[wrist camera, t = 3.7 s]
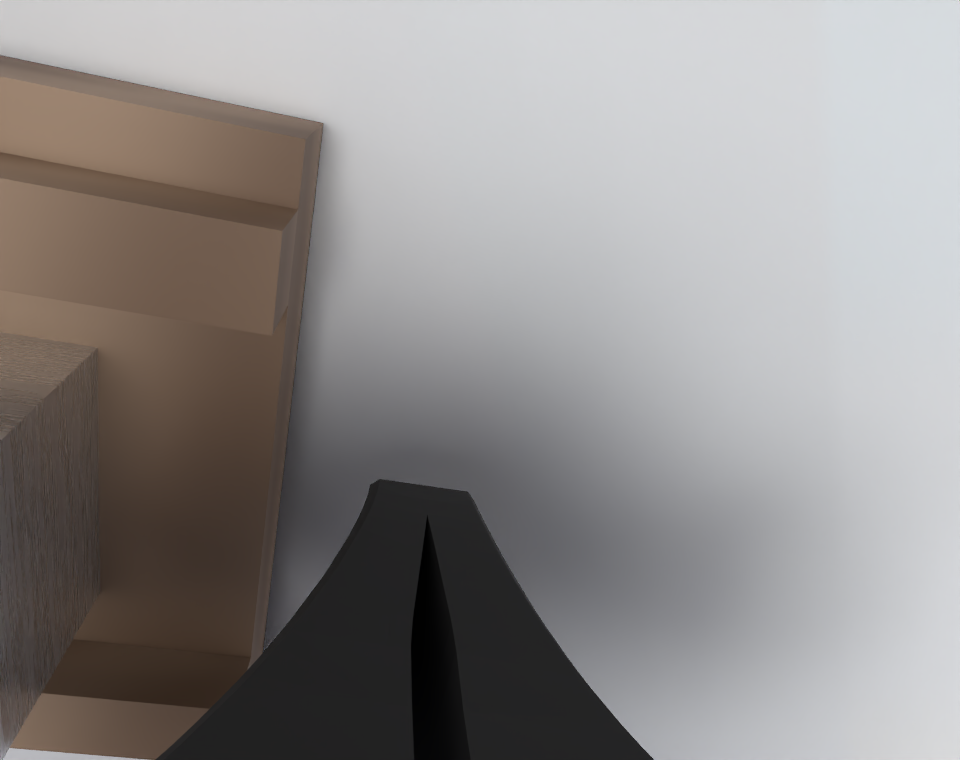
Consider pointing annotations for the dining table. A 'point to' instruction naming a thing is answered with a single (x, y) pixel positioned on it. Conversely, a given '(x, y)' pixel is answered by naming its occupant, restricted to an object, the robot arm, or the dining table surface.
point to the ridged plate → (161, 374)
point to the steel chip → (44, 513)
